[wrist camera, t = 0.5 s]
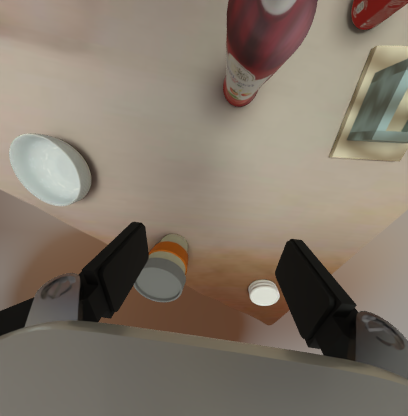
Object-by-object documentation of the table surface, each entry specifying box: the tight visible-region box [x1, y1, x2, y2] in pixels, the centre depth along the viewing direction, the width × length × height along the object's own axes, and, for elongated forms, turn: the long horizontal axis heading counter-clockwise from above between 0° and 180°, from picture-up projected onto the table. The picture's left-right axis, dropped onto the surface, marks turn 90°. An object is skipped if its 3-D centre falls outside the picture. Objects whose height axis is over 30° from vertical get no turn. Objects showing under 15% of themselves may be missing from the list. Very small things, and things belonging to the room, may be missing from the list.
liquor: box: [223, 0, 318, 107], centre depth 17 cm, size 7×7×28 cm
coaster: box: [248, 279, 279, 306], centre depth 51 cm, size 10×10×4 cm
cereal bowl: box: [9, 133, 91, 206], centre depth 37 cm, size 17×17×7 cm
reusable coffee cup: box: [134, 234, 188, 302], centre depth 41 cm, size 13×13×15 cm
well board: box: [329, 46, 408, 161], centre depth 26 cm, size 18×14×6 cm
